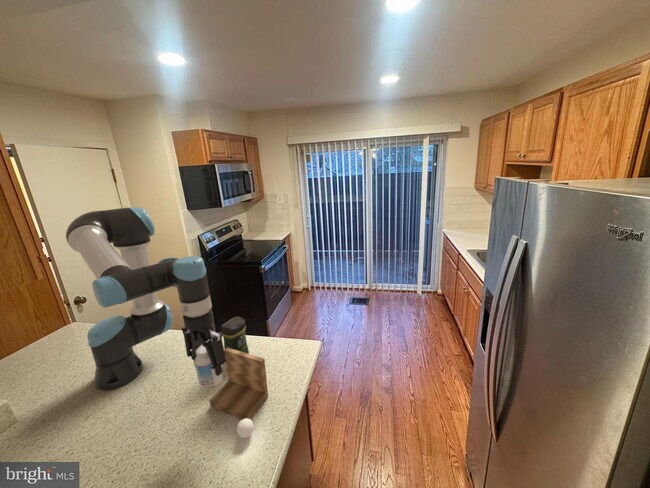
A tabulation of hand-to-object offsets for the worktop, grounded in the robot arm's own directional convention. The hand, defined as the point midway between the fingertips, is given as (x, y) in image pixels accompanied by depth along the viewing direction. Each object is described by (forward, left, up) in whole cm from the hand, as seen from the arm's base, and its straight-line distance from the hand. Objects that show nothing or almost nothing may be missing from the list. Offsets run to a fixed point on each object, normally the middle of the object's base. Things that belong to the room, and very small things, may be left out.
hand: (210, 379), depth 79 cm
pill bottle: (0, 0, 0) cm, 1 cm away
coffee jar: (-13, +25, -16) cm, 32 cm away
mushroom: (+12, 0, -16) cm, 20 cm away
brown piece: (+2, +8, -16) cm, 18 cm away
